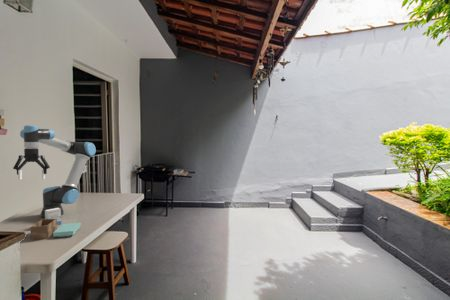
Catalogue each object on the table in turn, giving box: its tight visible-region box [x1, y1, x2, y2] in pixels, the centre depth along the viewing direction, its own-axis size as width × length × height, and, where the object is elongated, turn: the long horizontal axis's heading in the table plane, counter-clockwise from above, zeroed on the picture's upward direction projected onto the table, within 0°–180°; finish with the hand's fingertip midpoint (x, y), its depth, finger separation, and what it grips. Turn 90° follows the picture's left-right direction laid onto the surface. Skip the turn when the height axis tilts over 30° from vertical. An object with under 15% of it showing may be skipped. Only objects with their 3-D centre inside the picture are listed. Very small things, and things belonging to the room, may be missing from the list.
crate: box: [30, 218, 58, 241], centre depth 154 cm, size 14×9×8 cm, turn 15°
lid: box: [52, 222, 82, 238], centre depth 157 cm, size 15×11×4 cm
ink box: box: [44, 208, 62, 226], centre depth 171 cm, size 9×5×12 cm, turn 141°
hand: (32, 179), depth 162 cm, fingers open, 13 cm apart
